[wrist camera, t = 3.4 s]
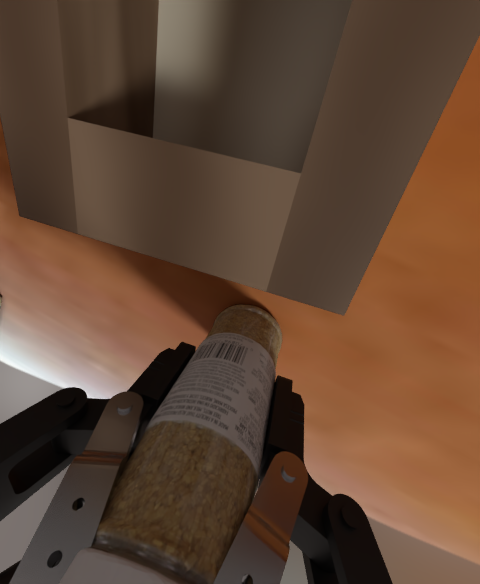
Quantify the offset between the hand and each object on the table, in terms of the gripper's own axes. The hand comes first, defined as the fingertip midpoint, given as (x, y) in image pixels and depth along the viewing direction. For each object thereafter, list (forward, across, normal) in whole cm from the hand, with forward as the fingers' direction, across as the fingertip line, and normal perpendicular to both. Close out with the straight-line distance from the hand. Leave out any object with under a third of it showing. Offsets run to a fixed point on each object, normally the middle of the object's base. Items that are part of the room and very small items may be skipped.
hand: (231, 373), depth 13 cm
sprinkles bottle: (+4, 0, 0) cm, 4 cm away
